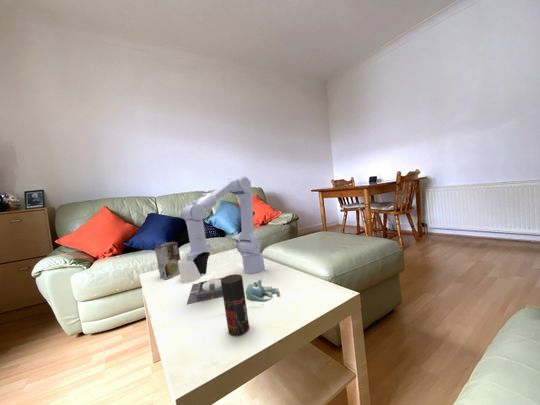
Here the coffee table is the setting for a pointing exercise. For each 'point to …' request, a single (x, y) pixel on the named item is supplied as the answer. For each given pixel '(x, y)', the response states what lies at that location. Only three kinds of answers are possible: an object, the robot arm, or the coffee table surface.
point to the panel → (203, 293)
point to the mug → (188, 271)
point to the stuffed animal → (259, 291)
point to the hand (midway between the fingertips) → (203, 273)
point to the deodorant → (235, 304)
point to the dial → (212, 285)
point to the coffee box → (168, 259)
